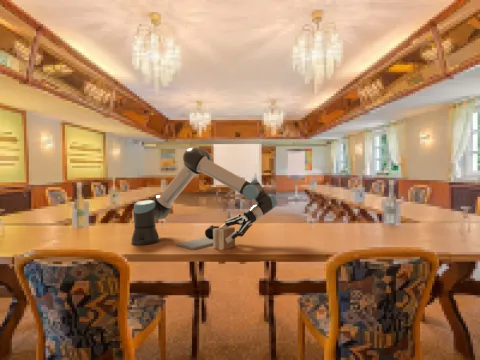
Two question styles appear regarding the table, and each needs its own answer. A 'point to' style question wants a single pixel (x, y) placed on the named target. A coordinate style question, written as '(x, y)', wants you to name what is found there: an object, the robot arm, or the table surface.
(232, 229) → the walnut box
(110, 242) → the table surface
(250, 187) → the robot arm
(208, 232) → the end cap
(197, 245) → the gray board
